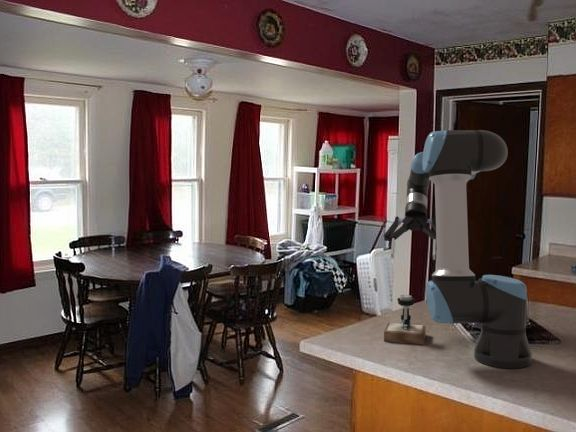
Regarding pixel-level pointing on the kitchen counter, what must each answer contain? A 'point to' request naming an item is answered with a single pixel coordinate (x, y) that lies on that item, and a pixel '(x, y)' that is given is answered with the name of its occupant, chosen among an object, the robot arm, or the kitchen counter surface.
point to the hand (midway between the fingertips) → (412, 256)
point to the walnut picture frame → (405, 333)
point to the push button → (406, 309)
